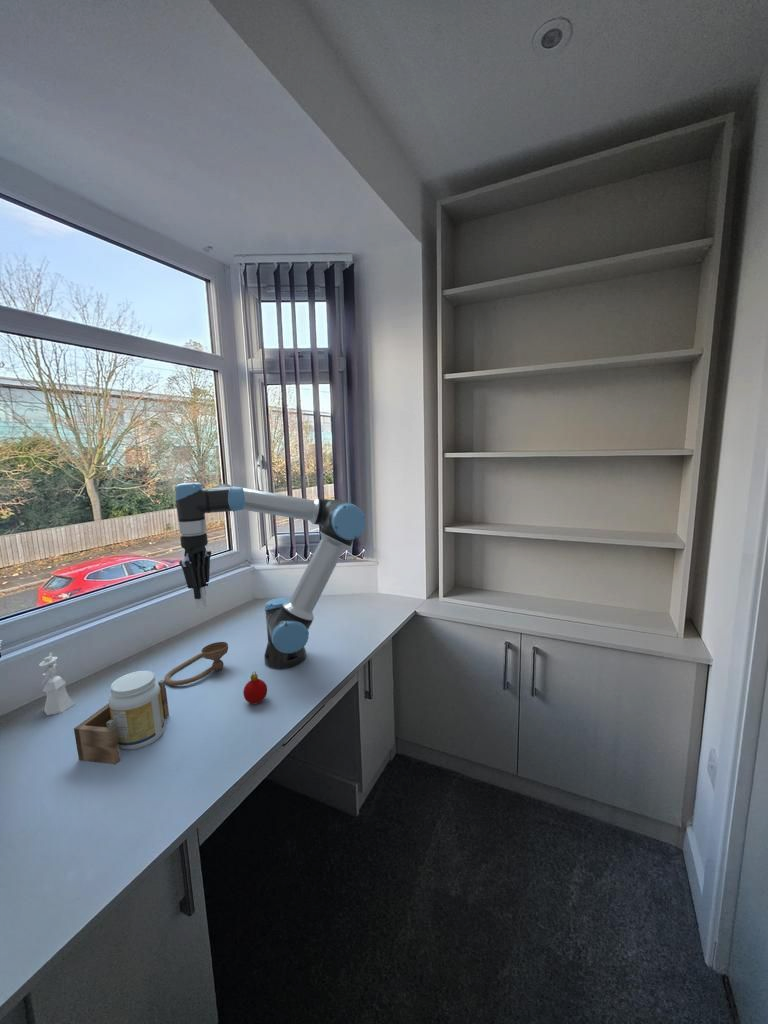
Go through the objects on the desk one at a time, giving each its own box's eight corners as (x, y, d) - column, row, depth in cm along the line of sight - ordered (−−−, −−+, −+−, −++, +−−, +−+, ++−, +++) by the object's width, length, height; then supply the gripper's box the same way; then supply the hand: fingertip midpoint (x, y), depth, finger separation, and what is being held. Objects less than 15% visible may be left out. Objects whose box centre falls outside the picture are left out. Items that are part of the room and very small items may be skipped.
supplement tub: (134, 722, 124) (127, 668, 122) (174, 723, 123) (167, 668, 120) (104, 751, 112) (95, 692, 110) (147, 753, 111) (139, 693, 108)
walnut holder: (169, 715, 127) (164, 680, 125) (115, 764, 107) (109, 723, 105) (137, 712, 129) (132, 677, 127) (78, 760, 109) (72, 719, 107)
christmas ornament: (258, 710, 127) (256, 679, 126) (239, 706, 130) (236, 675, 128) (272, 697, 134) (270, 667, 133) (254, 693, 136) (251, 664, 135)
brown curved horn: (155, 687, 145) (196, 693, 138) (150, 662, 144) (192, 667, 137) (207, 654, 167) (246, 658, 159) (204, 633, 166) (242, 636, 158)
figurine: (47, 705, 134) (38, 652, 132) (77, 698, 137) (69, 646, 135) (39, 717, 128) (29, 662, 125) (71, 710, 131) (62, 656, 128)
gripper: (195, 529, 136) (202, 599, 140) (168, 538, 123) (177, 615, 127) (216, 529, 135) (223, 600, 138) (191, 538, 122) (199, 616, 126)
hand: (201, 607), depth 133 cm, fingers closed
